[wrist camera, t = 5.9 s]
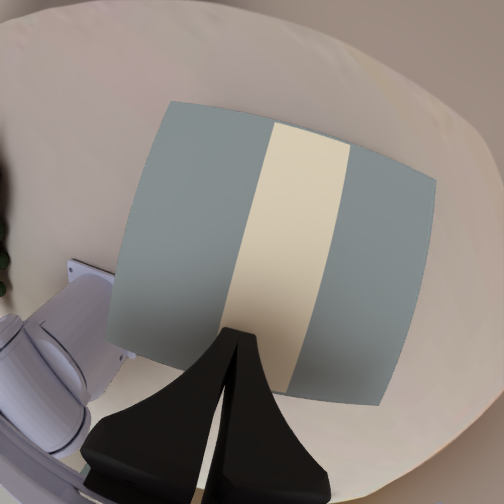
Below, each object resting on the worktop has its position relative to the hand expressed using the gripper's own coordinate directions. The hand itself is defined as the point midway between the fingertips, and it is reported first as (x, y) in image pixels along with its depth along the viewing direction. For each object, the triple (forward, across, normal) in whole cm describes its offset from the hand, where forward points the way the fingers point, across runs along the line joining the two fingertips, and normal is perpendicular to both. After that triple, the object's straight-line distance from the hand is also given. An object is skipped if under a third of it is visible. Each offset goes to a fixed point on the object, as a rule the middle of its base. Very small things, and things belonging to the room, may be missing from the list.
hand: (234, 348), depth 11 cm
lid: (+3, -1, -3) cm, 4 cm away
